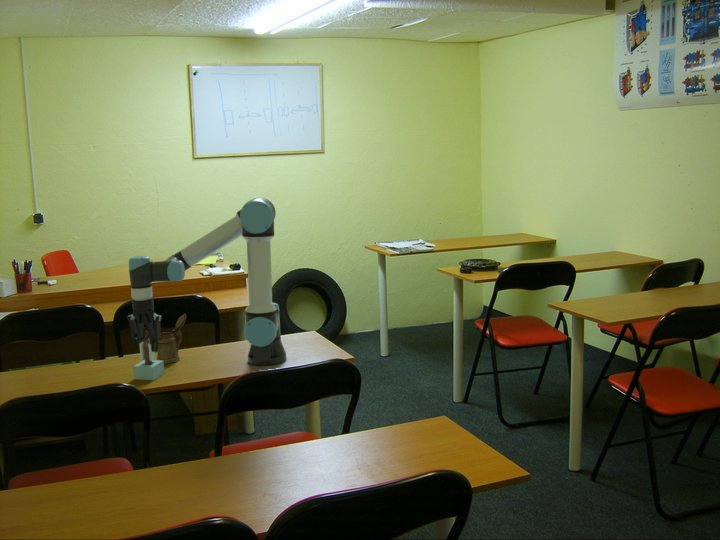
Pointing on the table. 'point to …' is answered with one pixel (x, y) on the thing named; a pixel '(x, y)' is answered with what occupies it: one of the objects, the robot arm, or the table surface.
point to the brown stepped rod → (146, 349)
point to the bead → (148, 370)
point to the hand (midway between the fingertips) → (148, 359)
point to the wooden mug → (170, 343)
